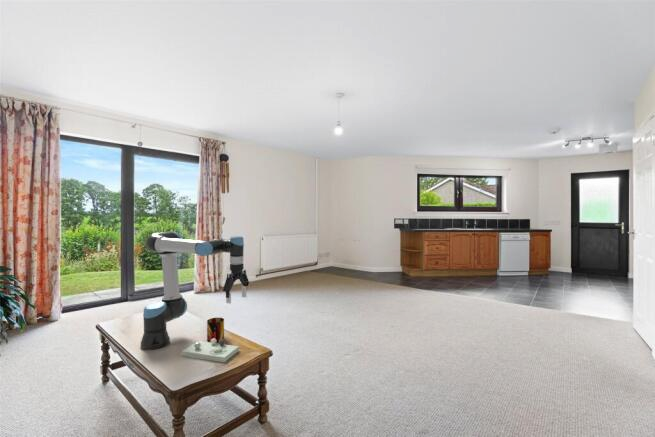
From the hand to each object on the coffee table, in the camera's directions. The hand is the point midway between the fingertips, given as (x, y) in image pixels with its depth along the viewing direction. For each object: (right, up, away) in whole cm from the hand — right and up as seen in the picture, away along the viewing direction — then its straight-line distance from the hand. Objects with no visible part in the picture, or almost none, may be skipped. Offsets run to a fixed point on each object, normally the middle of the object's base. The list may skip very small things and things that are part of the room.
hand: (236, 300), depth 188 cm
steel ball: (-19, -23, -9) cm, 31 cm away
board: (-12, -27, -9) cm, 31 cm away
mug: (-14, -27, +8) cm, 31 cm away
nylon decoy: (-12, -23, -3) cm, 26 cm away
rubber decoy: (-7, -23, -5) cm, 24 cm away
